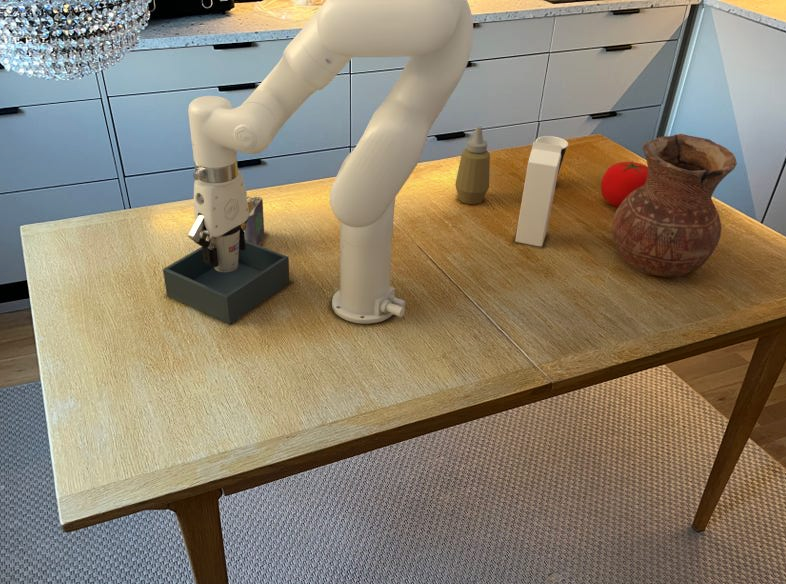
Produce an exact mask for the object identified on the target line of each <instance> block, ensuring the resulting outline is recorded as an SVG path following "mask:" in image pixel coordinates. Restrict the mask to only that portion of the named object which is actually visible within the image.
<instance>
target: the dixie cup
mask: <svg viewBox="0 0 786 584" xmlns="http://www.w3.org/2000/svg"><path fill="white" fill-rule="evenodd" d="M534 142H539V143H545V144H552V145H558V146H561V147H562V149H561V160H560V165H559V170H558V174H559V173H560V170H561V167H562V163H563V161H564V158H565V154H566V150H567V148H568V147H569V142H568V141H567V140H566V139H564V138H562V137H558V136H554V135H544V136H540V137H537V138H536V139H535V141H534ZM558 176H559V175H558ZM558 176H557V178H558Z"/></svg>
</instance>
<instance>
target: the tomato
mask: <svg viewBox="0 0 786 584" xmlns="http://www.w3.org/2000/svg"><path fill="white" fill-rule="evenodd" d="M647 175H648V165H646V164H643V163H640V162H635V161H633V160H631V161H621V162H620V161H619V162H617V163H614V164H611V166H610V167H608V168H607V169H606V171H605V172H604V174H603V177H602V179H601V183H600V190H601V195H602V197H603V199H604V200H605V201H606V202H607V203H608V204H609V205H611V206H612V207H614V208H617V209H618V207H619V205H620V204H621V203H622V201H623V200H624V199H625V198H626V197H627V196H628V195H629V194H630V193H631V192H633V191H634V190H636V189H637V188H639V187H641V186H643V185H644V184H645V183H646V180H647Z"/></svg>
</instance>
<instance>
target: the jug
mask: <svg viewBox="0 0 786 584" xmlns="http://www.w3.org/2000/svg"><path fill="white" fill-rule="evenodd" d="M641 150H642V151H643V153H644V156H645V160H646V164H647V165H646V166H647V167H648V175H647V180H646V183H645V184H644V185H643V186H641V187H639V188H637V189H636V190H634V191H633V192H631V193H630V194H629V195H628V196H627V197H626V198H625V199H624V200H623V201H622V203H621V204H620V205H619V207H618V208H617V209H616V210H615V213H614V216H613V220H612V228H611V229H612V239H613V241H614V245H615V248H616V249H617V252H618V253H619V255H620V257H621V258H622V259H623V260H624V262H626V263H627V264H628V265H629V266H630V267H632V268H634V269H635V270H637V271H639V272H641V273H643V274H646V275H649V276H655V277H661V278H677V277H682V276H684V275H688V274H689V273H691V272H693V271H696V270H697V269H699V268H700V267H702V266H703V265H704V264H705V263H706V262H707V261H708V260H709V258H710V257H711V256H712V255H713V253H714V251H715V249H716V248H717V247H718V244H719V242H720V238H721V235H722V223H721V218H720V214H719V212H718V210H717V207H716V205H715V203H714V201H713V200H712V198H713V194H714V193H715V190H716V189H717V187H718V186H719V184H720V183H721V182H722V181H723V180H724V178H726V177H727V176H728V175H729V174H730V173H732V171H734V170H735V169H736V166H737V164H738V162H737V159H736V157H735V155H734V153H733V152H732V151H730V150H729V149H728V148H726V147H725V146H723V145H721V144H720V143H717V142H714V141H712V140H711V139H708V138H706V137H698V136H695V135H689V134H684V133H678V134H676V133H675V134H673V135H670V136H669V135H665V136H664V135H663V136H658V137H655V138H654V139H652V140H648V141H647V140H646V142H644V143H643V145H642V149H641Z"/></svg>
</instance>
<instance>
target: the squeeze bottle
mask: <svg viewBox="0 0 786 584" xmlns="http://www.w3.org/2000/svg"><path fill="white" fill-rule="evenodd" d="M483 137H484V136H483V128H482V126H480V125H477V126H476V127H475V130H474V133H473V136H472V138H470V139H469V140H467V142H466V147H465V149H463V150H462V151H461V157H460V160H459V164H458V170H457V174H456V179H455V182H454V183H455V184H454V185H455V189H456V193H457V197H458V200H459V201H460V202H462V203H464V204H469V205H477V204H480V203H482V202H483V200H484V199H485V196H486V194H487V192H488V191H489V188H490V169H491V167H490V166H491V153H490V152H489V151H488V149H487V148H488V142H487V141H486V140H484V138H483Z"/></svg>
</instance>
